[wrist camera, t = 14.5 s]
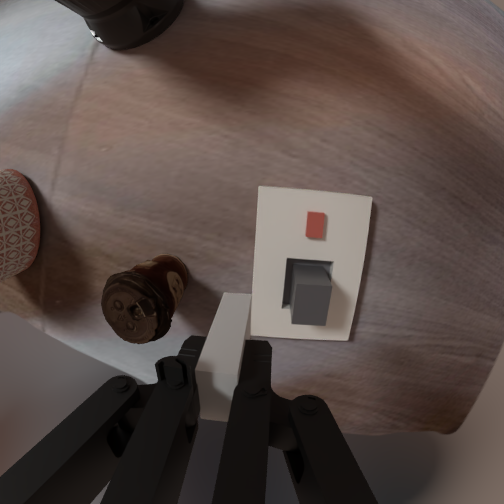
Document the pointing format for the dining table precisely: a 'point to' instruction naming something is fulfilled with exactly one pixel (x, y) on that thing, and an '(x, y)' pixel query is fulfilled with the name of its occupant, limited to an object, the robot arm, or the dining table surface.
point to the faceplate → (307, 257)
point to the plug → (309, 295)
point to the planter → (17, 224)
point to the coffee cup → (144, 298)
